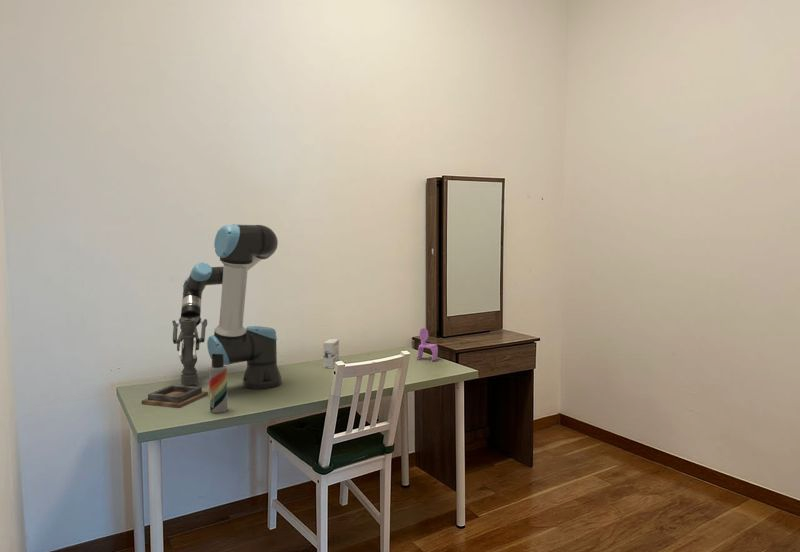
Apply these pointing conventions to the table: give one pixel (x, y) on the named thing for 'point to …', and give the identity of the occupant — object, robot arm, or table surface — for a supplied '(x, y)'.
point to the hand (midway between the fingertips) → (187, 356)
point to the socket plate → (175, 396)
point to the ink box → (331, 352)
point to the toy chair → (426, 345)
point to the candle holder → (188, 352)
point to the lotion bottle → (218, 384)
